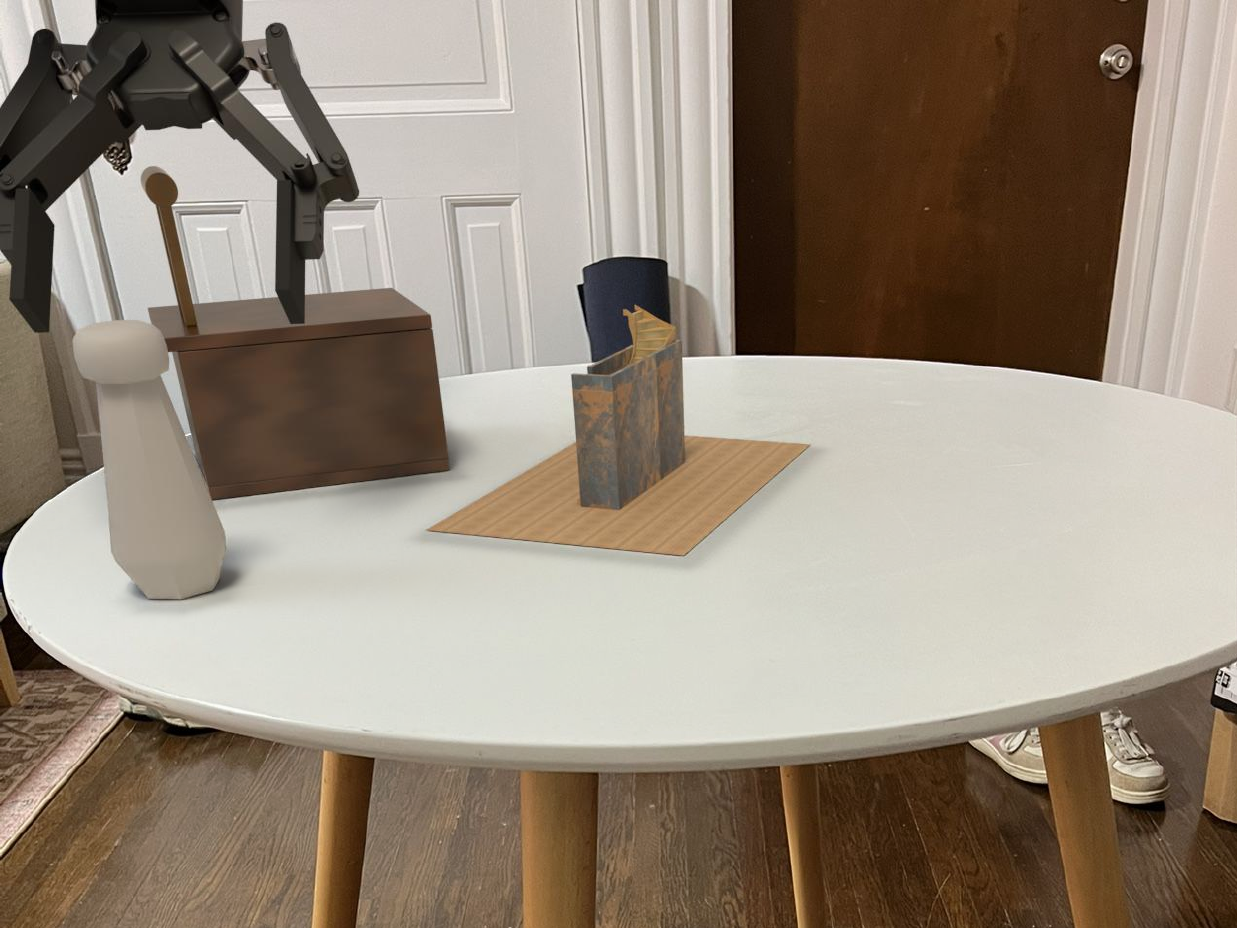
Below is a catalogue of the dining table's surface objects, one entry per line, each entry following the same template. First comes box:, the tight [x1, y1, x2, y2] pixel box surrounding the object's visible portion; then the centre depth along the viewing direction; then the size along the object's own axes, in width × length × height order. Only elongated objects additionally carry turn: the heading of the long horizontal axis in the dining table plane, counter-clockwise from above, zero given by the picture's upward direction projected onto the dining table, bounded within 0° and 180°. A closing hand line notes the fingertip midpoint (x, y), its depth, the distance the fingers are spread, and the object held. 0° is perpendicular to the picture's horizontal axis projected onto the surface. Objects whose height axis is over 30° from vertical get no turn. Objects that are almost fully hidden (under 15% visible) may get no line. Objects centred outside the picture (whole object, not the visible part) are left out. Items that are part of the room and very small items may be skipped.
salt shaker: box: [72, 319, 227, 600], centre depth 67 cm, size 6×6×13 cm
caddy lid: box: [140, 165, 433, 353], centre depth 83 cm, size 16×13×9 cm
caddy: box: [171, 328, 451, 501], centre depth 88 cm, size 16×13×9 cm
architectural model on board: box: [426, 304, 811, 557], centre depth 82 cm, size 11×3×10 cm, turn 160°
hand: (160, 312), depth 69 cm, fingers open, 13 cm apart
